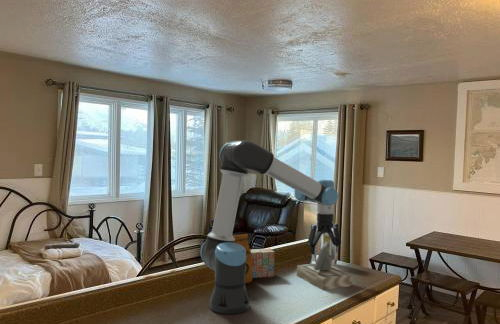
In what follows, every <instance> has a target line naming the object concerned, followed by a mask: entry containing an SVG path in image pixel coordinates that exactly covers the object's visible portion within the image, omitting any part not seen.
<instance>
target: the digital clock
mask: <svg viewBox="0 0 500 324" xmlns="http://www.w3.org/2000/svg"><path fill="white" fill-rule="evenodd" d="M329 246H330V244H329V243H328V242H325V244H324V245H323V247H322V249H321V248H320V252H319V253H318V256H317V257H316V262H315V263H314V264H315V266H314V269H315V270H319V269H320V270H330V268H331V265H332V257H331V255H329V253H328V248H329Z"/></svg>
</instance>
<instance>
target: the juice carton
mask: <svg viewBox="0 0 500 324" xmlns="http://www.w3.org/2000/svg"><path fill="white" fill-rule="evenodd" d="M332 231H333V228H332ZM333 234H334V231H333ZM334 236H335V235H334ZM320 240H321V244H320V245H321V246H320V250H321V249H322V247H323V245H324V244H325V242H328V243H329V244H330V246H329V248H328V253H329V255H331V248H332V245H334V244H333V243H332V241H331V239H330V237H329V235H328V233H323V234H322V235H321V237H320ZM338 252H339V246H337V252H336V260H334V259H332V265H331V266H333V267H335V265H337V264H338V255H339V253H338Z"/></svg>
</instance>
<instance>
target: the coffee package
mask: <svg viewBox="0 0 500 324" xmlns="http://www.w3.org/2000/svg"><path fill="white" fill-rule="evenodd" d="M232 236H233V237H234V239H235V242H234V243H235V244H240V245H242V246H243V247H244V248H245V250H246V273H245V284H249V283H252V281H253V278H252V261H253V259H252V254H251V250H252V249H251V248H250V244H249V242H248V238H249V235H248V233H245V234H244V233H243V234H238V235H232Z"/></svg>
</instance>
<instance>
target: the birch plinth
mask: <svg viewBox="0 0 500 324" xmlns="http://www.w3.org/2000/svg"><path fill="white" fill-rule="evenodd" d="M314 266H315V263H308V264H299V265H298V264H297V265H296V276H297V277H299V278H300V279H302V280H304V281H306V283H307V282H308V283H309V284H311V285H312V286H314V287H316V288H318V289H320V290H322V291H327V290H332V289H333V290H334V289H341V288H348V287H352V286H353V274H352V273H349V272H348V271H347V272H346V271H345V270H343V269H340V268H338V267H336V266H331V268H330V270H320V269H319V270H315V269H314Z"/></svg>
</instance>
